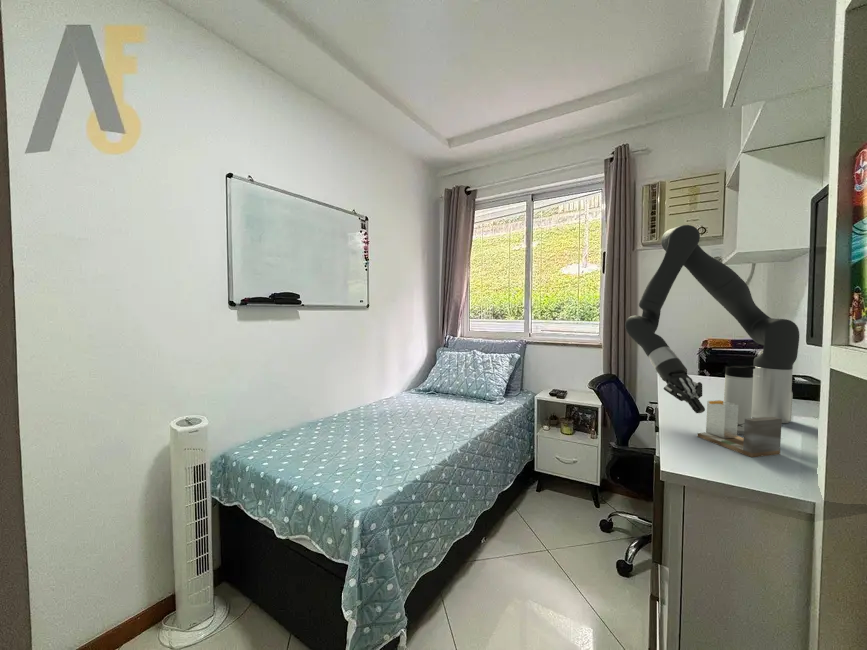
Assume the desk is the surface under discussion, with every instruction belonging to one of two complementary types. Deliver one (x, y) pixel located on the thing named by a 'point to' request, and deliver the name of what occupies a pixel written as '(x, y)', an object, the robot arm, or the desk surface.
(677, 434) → the desk surface
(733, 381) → the travel mug
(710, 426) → the white card box
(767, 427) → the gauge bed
